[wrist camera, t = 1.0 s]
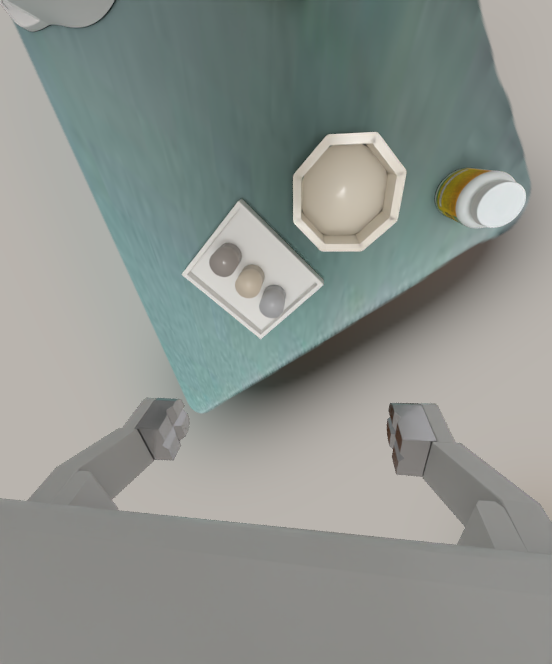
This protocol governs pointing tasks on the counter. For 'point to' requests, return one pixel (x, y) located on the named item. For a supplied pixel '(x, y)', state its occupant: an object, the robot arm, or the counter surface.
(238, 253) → the pebble
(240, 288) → the pebble
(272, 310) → the grey rounded lump
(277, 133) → the counter surface
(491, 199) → the supplement bottle
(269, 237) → the tray
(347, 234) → the bowl
